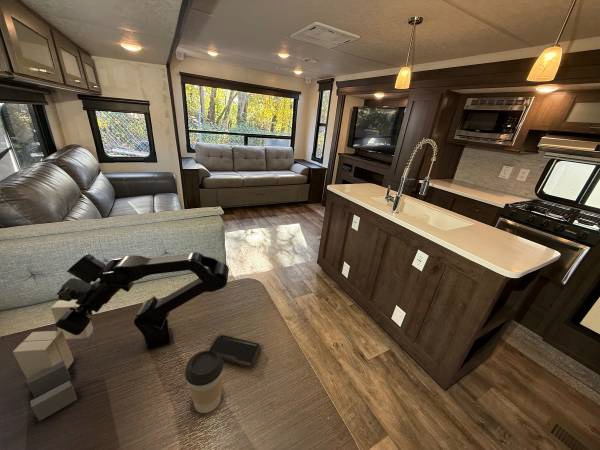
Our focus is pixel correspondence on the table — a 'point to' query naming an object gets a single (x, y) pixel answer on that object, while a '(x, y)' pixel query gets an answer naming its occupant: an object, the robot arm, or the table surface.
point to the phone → (236, 350)
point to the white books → (42, 352)
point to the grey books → (54, 397)
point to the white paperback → (61, 309)
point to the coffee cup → (205, 380)
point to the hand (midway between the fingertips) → (72, 320)
